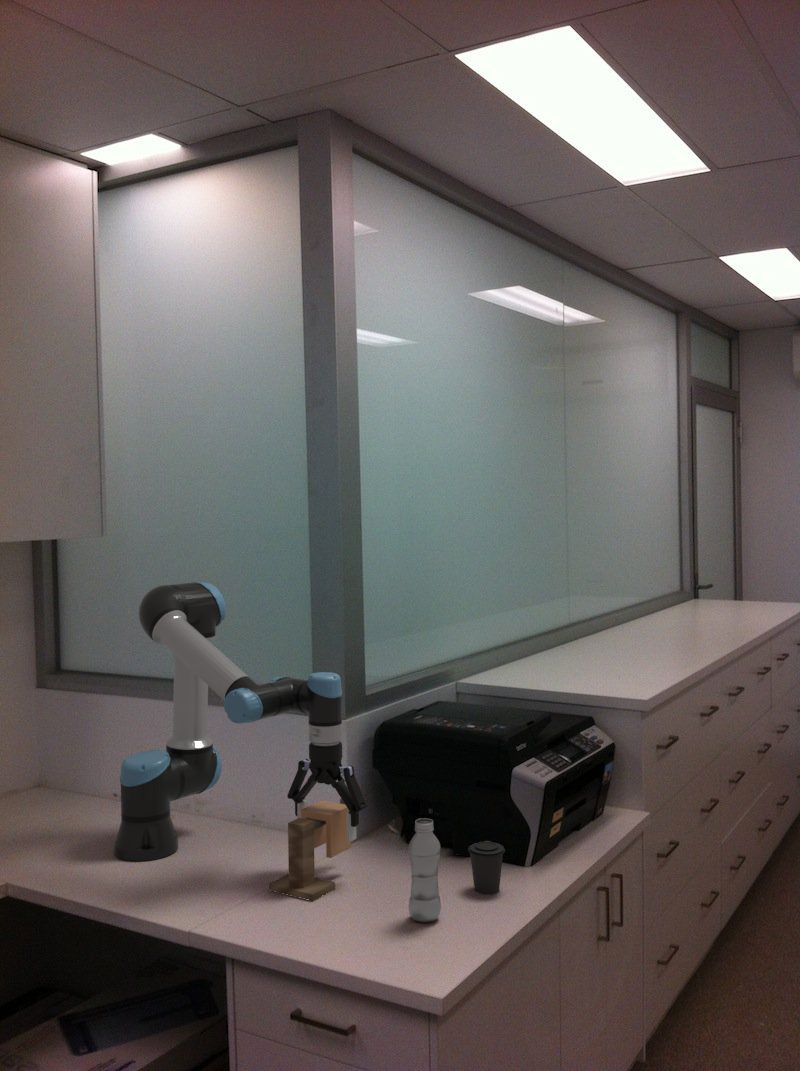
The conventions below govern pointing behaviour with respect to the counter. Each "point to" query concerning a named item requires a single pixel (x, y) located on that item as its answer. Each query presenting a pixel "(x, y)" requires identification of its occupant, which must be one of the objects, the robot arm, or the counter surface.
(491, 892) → the coffee cup
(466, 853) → the battery
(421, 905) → the plastic bottle
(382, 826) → the counter surface
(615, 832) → the counter surface
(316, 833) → the tan square cardboard-colored block
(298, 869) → the hook stand
